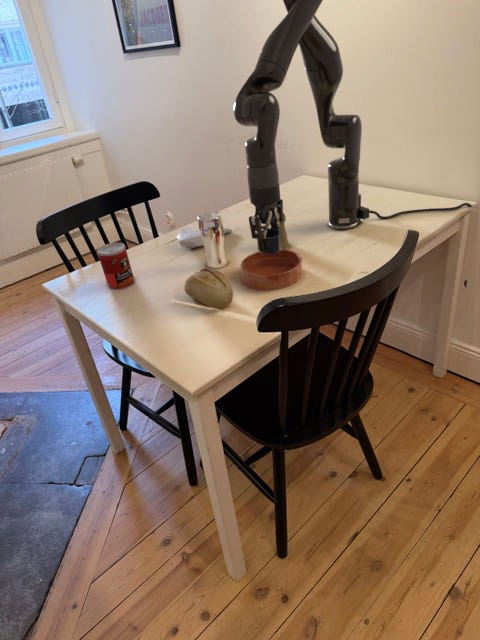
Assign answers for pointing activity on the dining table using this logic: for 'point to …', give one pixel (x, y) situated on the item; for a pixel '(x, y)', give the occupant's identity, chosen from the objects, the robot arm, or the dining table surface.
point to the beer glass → (212, 238)
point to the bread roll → (210, 288)
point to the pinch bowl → (272, 241)
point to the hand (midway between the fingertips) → (269, 245)
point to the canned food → (115, 265)
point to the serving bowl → (272, 270)
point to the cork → (283, 233)
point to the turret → (193, 237)
